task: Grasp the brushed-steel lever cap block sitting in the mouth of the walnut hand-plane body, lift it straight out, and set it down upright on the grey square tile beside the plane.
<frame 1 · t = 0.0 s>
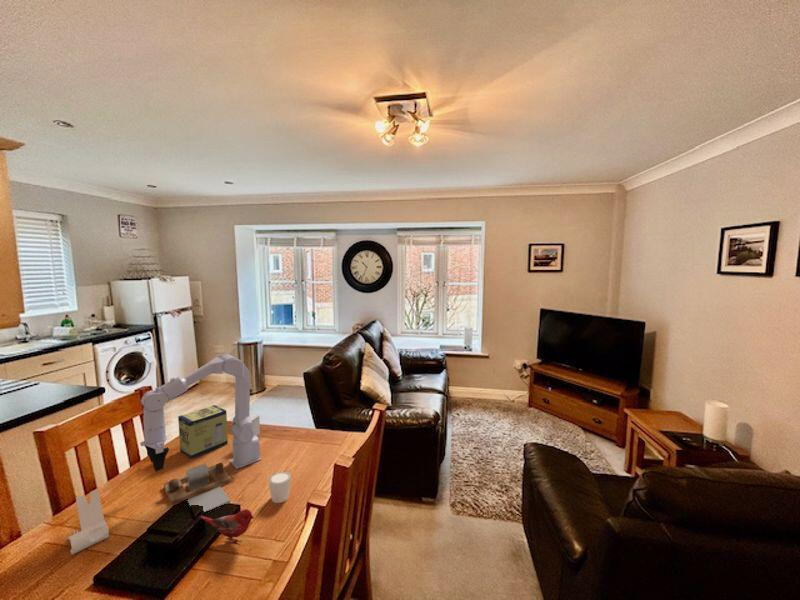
hand: (156, 465, 113), 10 cm above the table, tool pointing down, fingers open, 7 cm apart
white cylinder: (280, 497, 113), on the table
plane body: (198, 484, 119), on the table
grey square tile: (208, 502, 110), on the table
decorative bird figurine: (226, 541, 94), on the table
lever cap: (198, 484, 119), resting in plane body
skincare box: (252, 444, 148), on the table
protein box: (204, 448, 145), on the table
plastic part: (87, 540, 95), on the table
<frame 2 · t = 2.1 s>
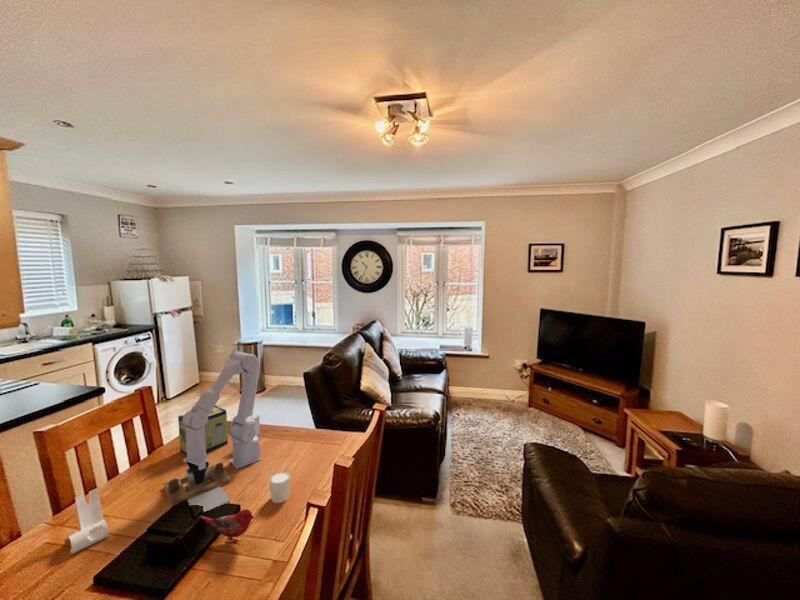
hand: (197, 480, 119), 2 cm above the table, tool pointing down, fingers closed on lever cap, 4 cm apart
lever cap: (198, 484, 119), resting in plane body, touching gripper
everything else where it was.
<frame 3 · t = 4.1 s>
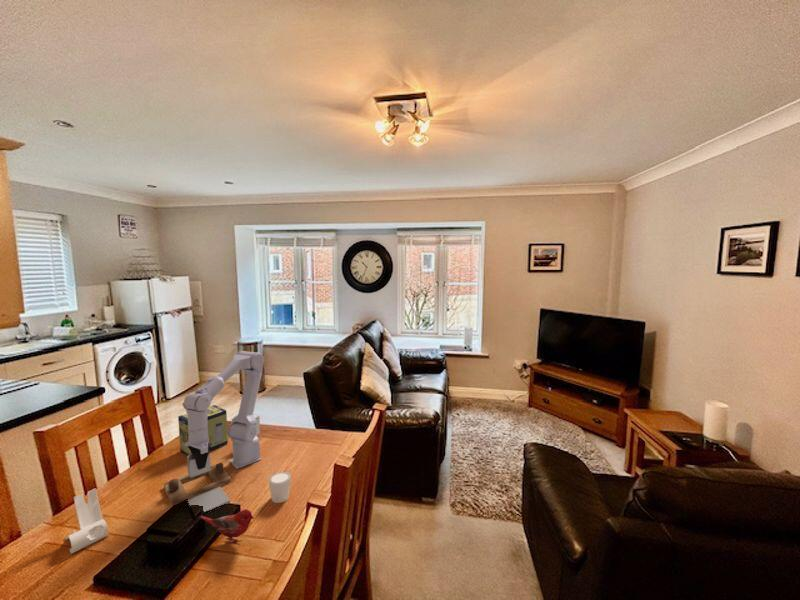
hand: (199, 465, 115), 9 cm above the table, tool pointing down, fingers closed on lever cap, 4 cm apart
lever cap: (199, 471, 115), point 7 cm above the table, touching gripper
everything else where it was.
when the fingers open (4 cm above the table, at t = 6.1 s): lever cap stays where it is, resting on grey square tile.
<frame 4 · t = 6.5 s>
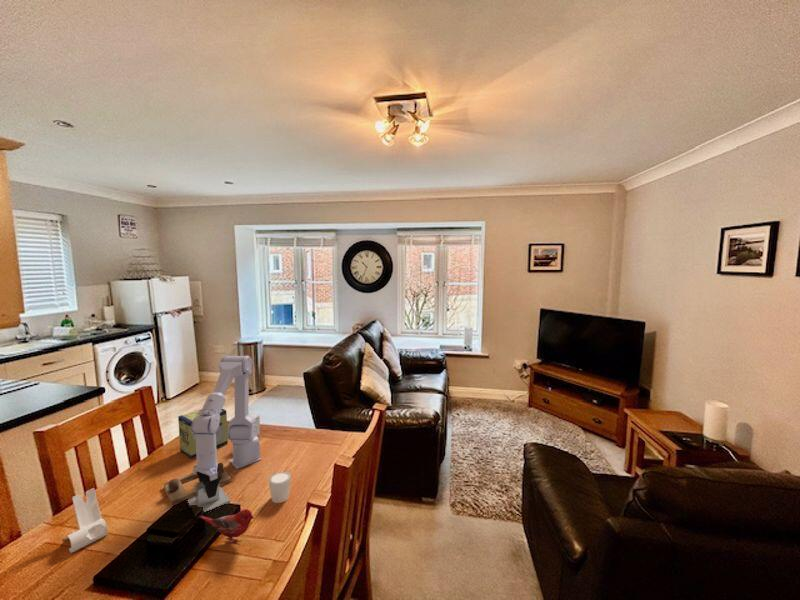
hand: (208, 491, 110), 4 cm above the table, tool pointing down, fingers open, 7 cm apart
lever cap: (207, 500, 110), point 1 cm above the table, touching grey square tile
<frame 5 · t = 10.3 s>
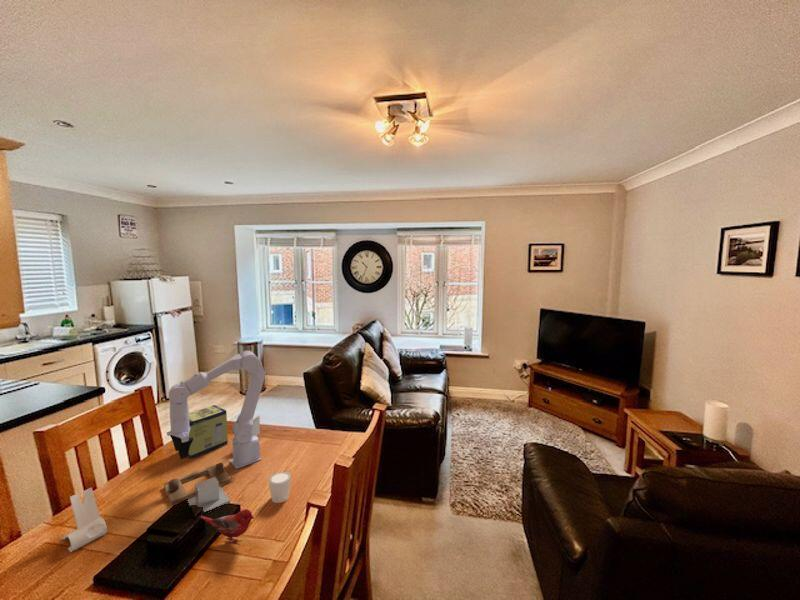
hand: (181, 453, 122), 9 cm above the table, tool pointing down, fingers open, 7 cm apart
at the end: lever cap 0.4 cm off-centre on the grey square tile, point 0.8 cm above the grey square tile's base; lever cap tilted 0°; the gripper is holding nothing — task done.
